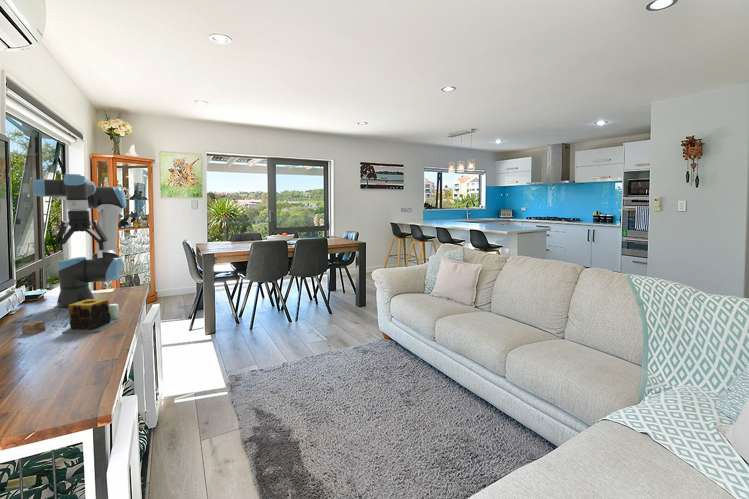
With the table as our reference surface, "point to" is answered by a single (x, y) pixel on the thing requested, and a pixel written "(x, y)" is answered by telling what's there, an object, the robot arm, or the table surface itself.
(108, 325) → the coaster
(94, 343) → the table surface
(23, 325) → the walnut block
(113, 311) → the sage capsule
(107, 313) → the candle
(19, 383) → the table surface
